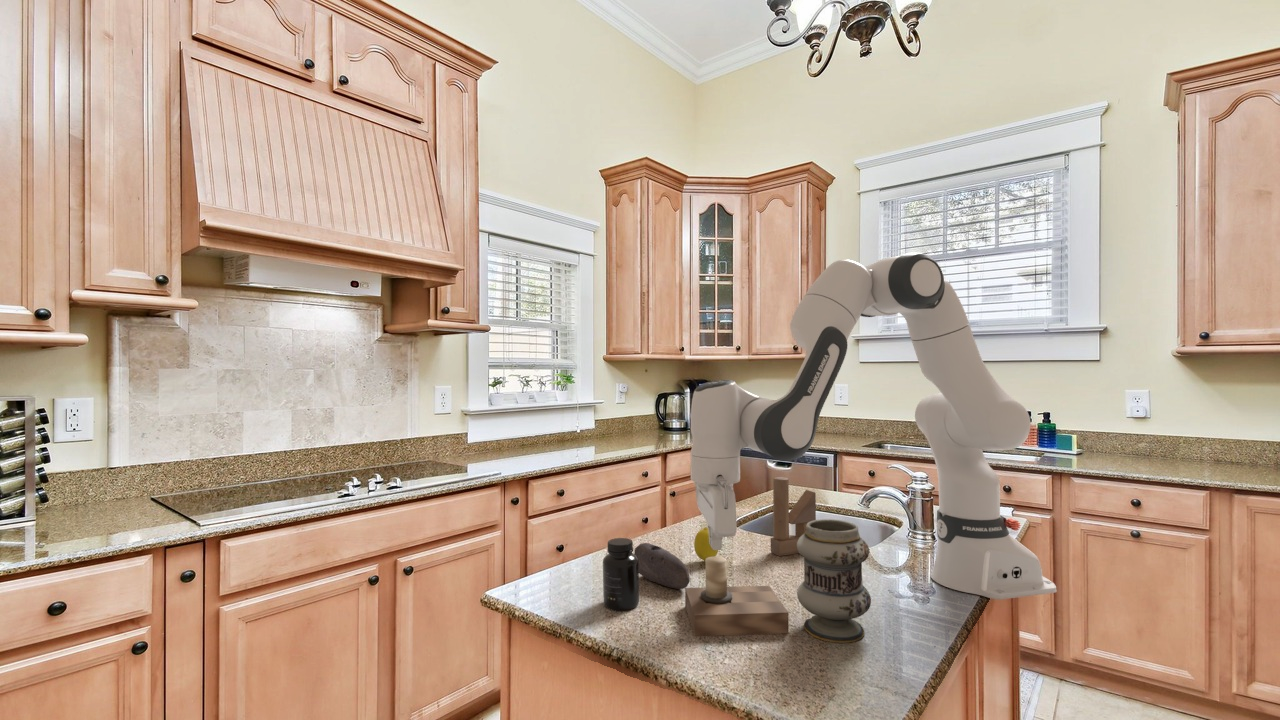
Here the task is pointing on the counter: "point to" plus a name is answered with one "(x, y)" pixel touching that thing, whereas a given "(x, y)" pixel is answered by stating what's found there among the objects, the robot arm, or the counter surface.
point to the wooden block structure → (789, 517)
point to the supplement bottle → (620, 575)
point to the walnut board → (737, 612)
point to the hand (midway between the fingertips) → (715, 547)
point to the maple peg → (716, 581)
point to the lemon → (703, 545)
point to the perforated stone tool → (661, 566)
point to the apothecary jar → (833, 580)
